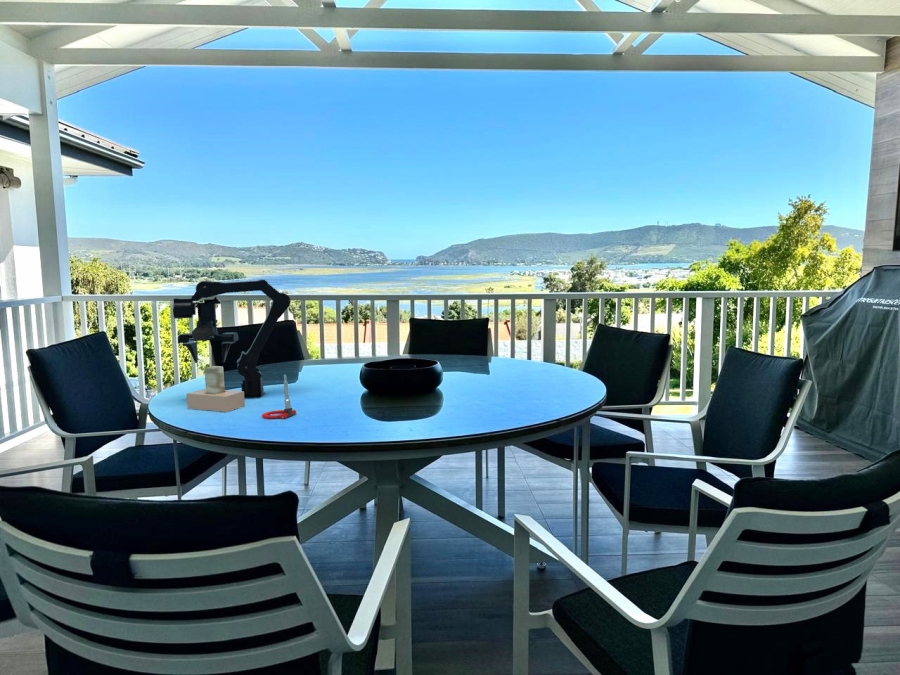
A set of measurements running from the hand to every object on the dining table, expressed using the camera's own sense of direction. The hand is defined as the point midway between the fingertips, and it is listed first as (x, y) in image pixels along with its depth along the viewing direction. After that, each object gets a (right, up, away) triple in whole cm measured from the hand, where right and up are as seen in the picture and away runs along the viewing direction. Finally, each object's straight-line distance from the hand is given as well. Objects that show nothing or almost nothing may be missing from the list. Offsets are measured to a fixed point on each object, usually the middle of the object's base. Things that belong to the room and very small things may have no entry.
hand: (209, 362), depth 200 cm
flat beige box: (+6, -14, -11) cm, 19 cm away
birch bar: (+6, -13, -11) cm, 18 cm away
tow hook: (+30, -16, -23) cm, 41 cm away
